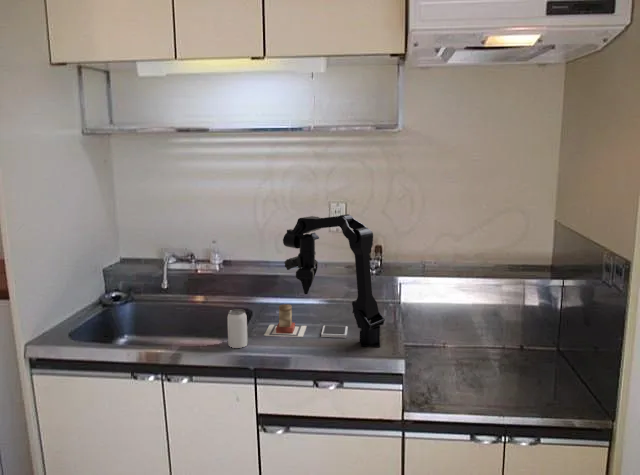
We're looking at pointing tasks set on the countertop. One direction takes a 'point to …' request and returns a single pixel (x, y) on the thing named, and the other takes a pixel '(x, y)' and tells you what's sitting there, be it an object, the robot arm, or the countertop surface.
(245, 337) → the can
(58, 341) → the countertop surface
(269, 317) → the countertop surface
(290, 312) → the stamp
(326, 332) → the ink pad
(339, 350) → the countertop surface
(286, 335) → the print sheet
